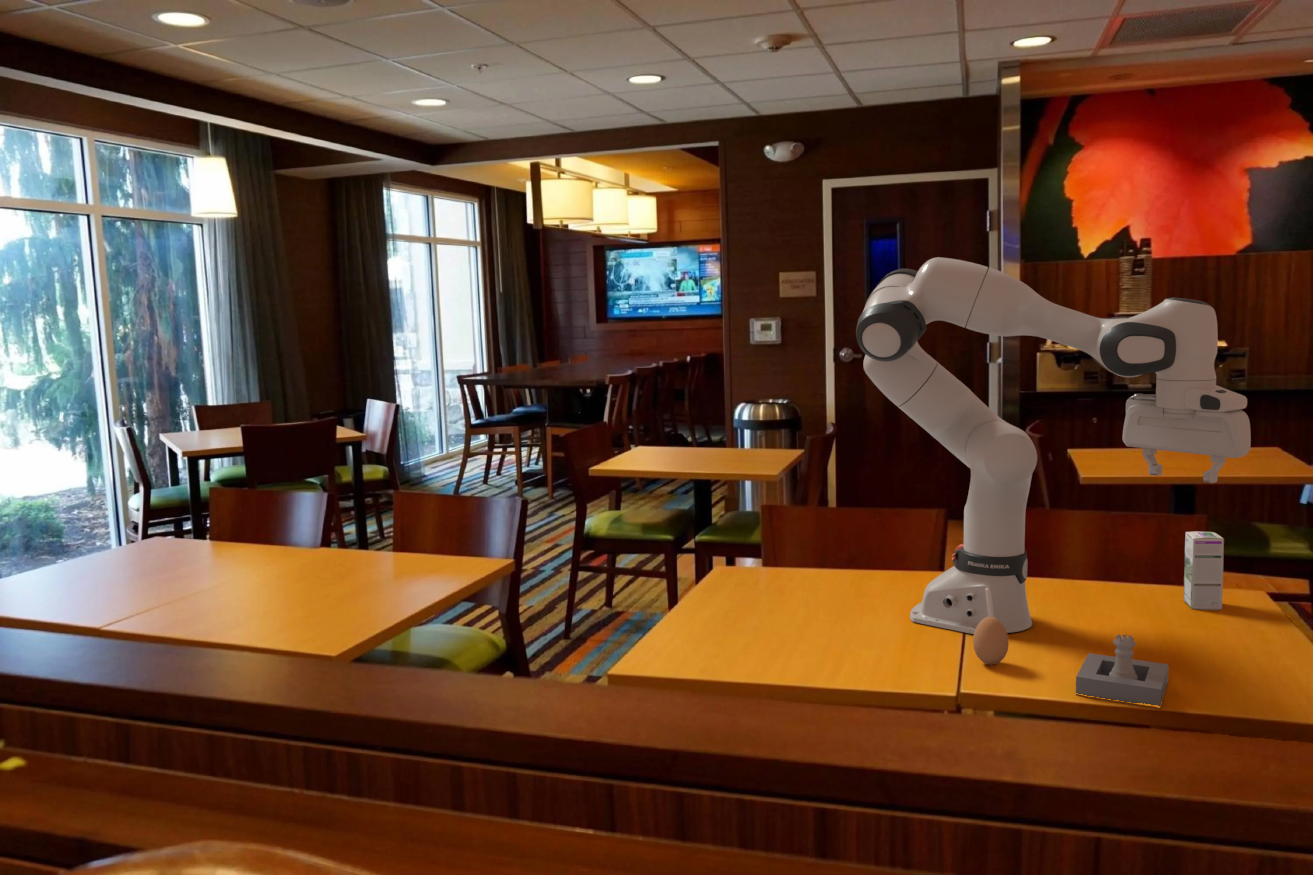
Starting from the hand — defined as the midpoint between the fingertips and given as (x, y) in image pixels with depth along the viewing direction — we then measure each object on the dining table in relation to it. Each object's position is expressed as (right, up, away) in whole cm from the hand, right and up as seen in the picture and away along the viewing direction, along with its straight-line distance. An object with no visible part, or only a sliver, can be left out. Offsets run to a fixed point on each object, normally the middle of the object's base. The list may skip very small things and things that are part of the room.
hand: (1182, 478), depth 174 cm
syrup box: (+20, -27, +32) cm, 46 cm away
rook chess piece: (-14, -33, -9) cm, 37 cm away
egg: (-31, -32, +4) cm, 45 cm away
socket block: (-14, -33, -9) cm, 37 cm away
